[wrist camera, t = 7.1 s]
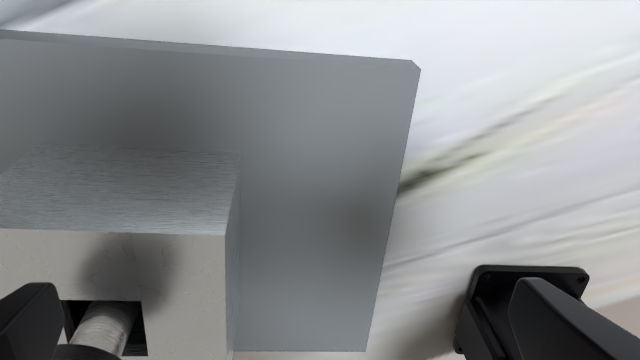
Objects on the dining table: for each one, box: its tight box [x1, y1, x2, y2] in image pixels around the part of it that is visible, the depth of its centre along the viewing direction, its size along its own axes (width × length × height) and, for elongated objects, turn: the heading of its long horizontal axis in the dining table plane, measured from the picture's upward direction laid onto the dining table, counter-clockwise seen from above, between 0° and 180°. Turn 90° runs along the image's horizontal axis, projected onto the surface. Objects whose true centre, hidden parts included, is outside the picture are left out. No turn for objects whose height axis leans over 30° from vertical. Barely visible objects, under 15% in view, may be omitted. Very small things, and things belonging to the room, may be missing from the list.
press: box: [0, 142, 241, 360], centre depth 18 cm, size 8×8×6 cm
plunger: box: [52, 300, 141, 360], centre depth 15 cm, size 6×6×9 cm
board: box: [0, 30, 421, 352], centre depth 21 cm, size 22×16×2 cm
